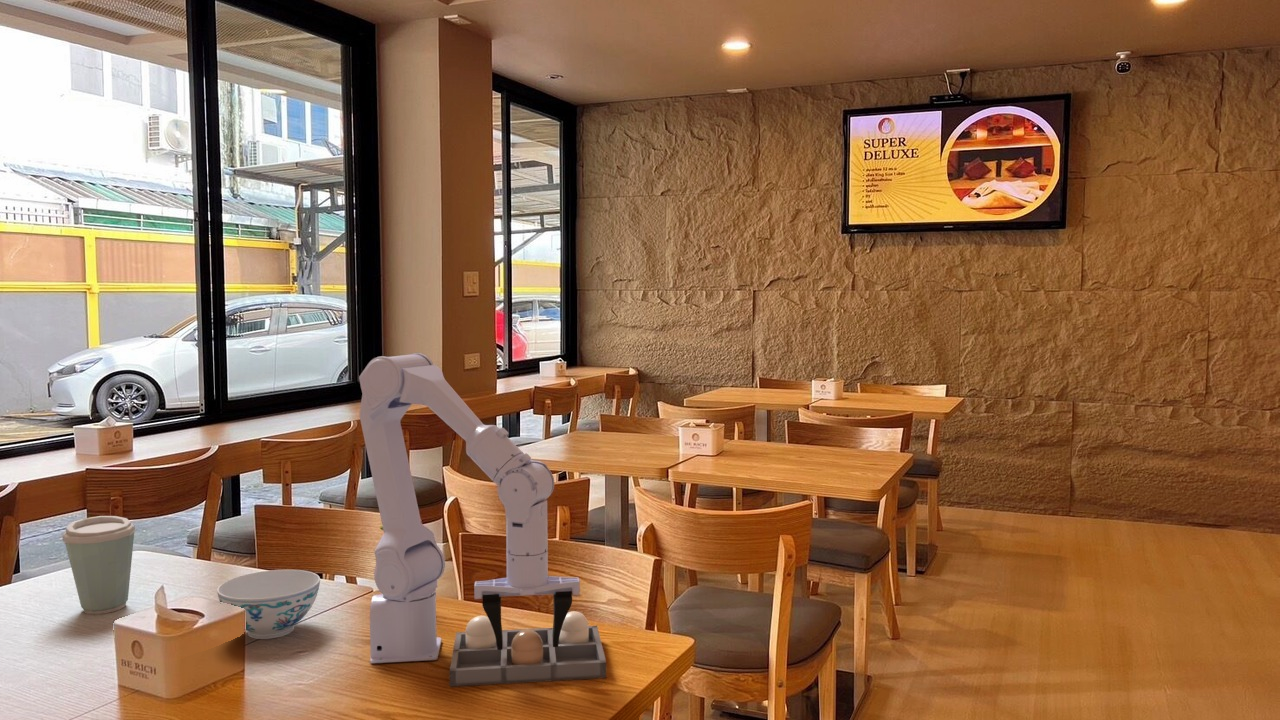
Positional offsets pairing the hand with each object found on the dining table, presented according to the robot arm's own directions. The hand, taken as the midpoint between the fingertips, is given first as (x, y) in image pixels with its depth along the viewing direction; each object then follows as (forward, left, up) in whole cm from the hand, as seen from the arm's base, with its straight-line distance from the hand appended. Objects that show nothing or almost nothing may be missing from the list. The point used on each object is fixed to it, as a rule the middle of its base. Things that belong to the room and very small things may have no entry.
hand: (527, 645), depth 130 cm
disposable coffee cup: (-71, +36, -4) cm, 80 cm away
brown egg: (0, 0, -3) cm, 3 cm away
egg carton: (0, +3, -4) cm, 5 cm away
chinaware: (-40, +21, -4) cm, 45 cm away
